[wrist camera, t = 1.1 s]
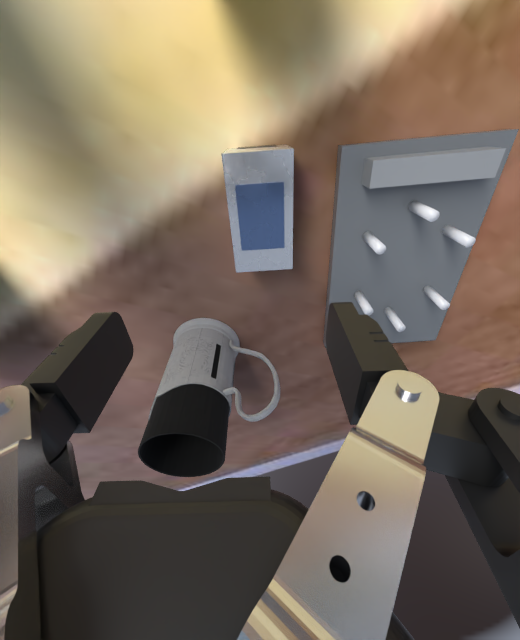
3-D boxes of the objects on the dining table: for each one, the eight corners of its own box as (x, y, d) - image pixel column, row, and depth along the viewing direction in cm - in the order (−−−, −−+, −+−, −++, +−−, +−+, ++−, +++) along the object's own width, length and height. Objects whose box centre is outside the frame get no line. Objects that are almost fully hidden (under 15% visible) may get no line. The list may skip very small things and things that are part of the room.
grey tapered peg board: (338, 145, 23) (355, 148, 19) (507, 129, 22) (559, 129, 19) (323, 341, 36) (331, 367, 32) (430, 334, 35) (451, 359, 31)
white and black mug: (159, 335, 35) (107, 447, 22) (254, 287, 31) (255, 392, 19) (199, 375, 39) (175, 487, 27) (287, 338, 35) (304, 449, 23)
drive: (227, 148, 23) (221, 153, 18) (286, 143, 23) (294, 147, 18) (239, 249, 28) (236, 272, 24) (286, 246, 28) (292, 269, 24)
